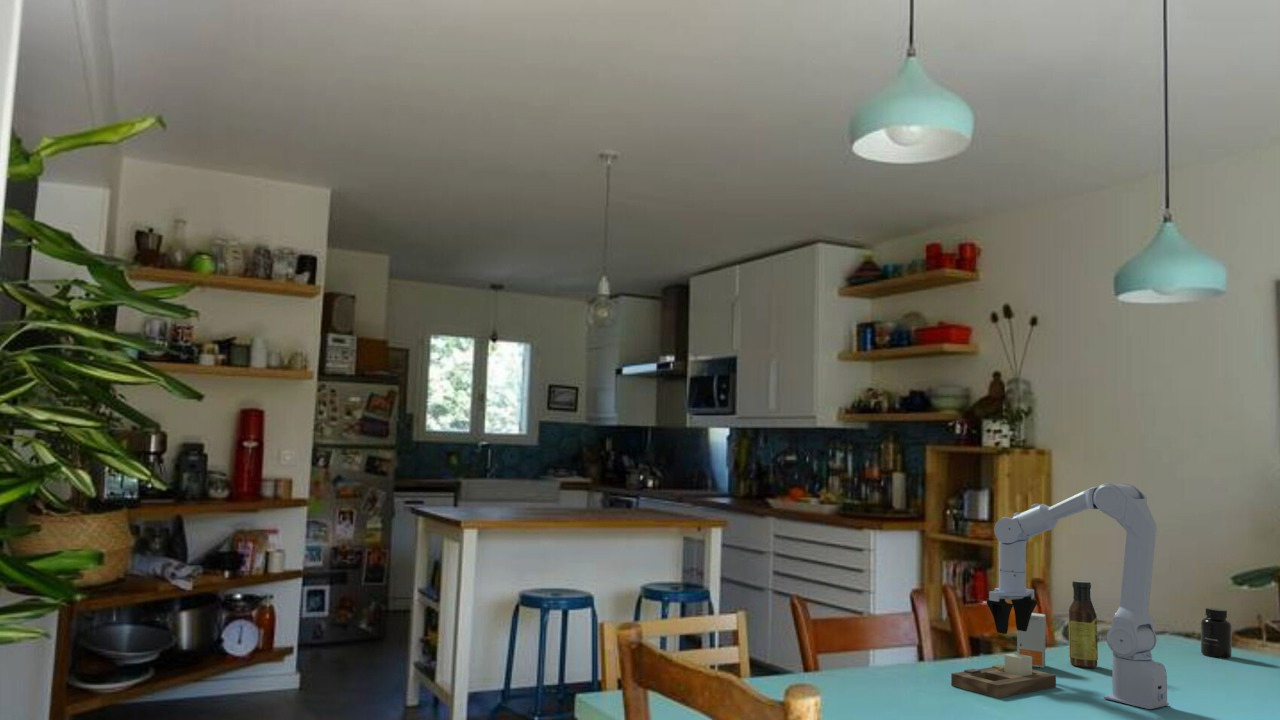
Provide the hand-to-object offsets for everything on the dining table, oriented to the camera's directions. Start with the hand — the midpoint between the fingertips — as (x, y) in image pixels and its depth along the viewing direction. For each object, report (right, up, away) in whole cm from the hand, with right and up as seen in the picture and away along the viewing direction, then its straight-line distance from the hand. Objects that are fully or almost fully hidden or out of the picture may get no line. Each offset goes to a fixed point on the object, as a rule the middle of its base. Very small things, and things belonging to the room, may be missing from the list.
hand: (1011, 631), depth 211 cm
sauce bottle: (+22, -12, +12) cm, 28 cm away
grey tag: (-13, -5, -12) cm, 18 cm away
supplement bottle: (+66, -16, +32) cm, 75 cm away
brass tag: (-5, -6, -6) cm, 10 cm away
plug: (-3, -8, -10) cm, 13 cm away
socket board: (-7, -8, -13) cm, 16 cm away
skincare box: (+9, -11, +10) cm, 17 cm away
